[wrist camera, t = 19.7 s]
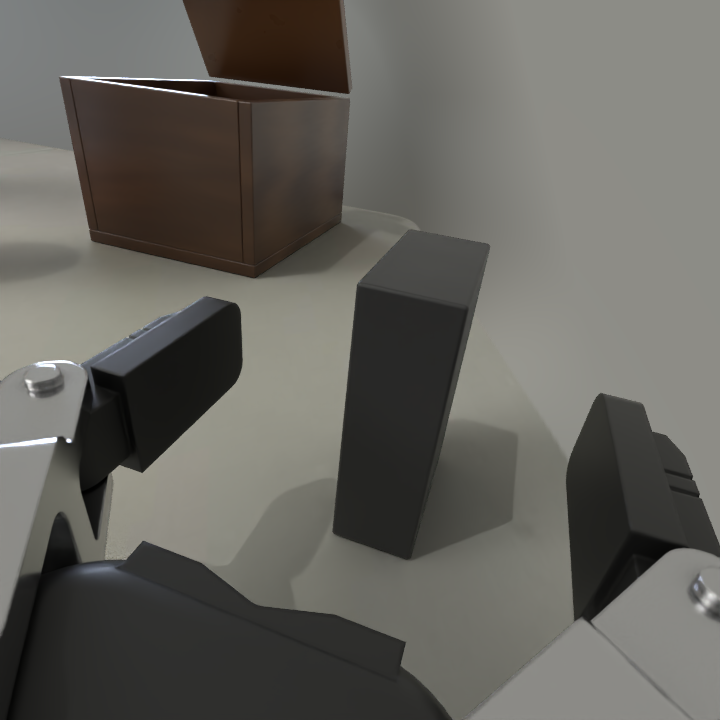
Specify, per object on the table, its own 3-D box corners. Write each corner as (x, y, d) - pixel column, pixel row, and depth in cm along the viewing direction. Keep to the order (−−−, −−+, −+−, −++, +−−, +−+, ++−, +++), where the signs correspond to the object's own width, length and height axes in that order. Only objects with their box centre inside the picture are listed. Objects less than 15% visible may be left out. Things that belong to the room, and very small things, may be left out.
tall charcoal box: (441, 450, 18) (492, 240, 14) (409, 561, 14) (469, 307, 10) (379, 432, 18) (411, 225, 14) (331, 534, 14) (356, 282, 10)
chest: (254, 278, 30) (251, 102, 25) (90, 240, 33) (58, 76, 28) (341, 221, 43) (350, 98, 38) (218, 198, 46) (211, 80, 41)
